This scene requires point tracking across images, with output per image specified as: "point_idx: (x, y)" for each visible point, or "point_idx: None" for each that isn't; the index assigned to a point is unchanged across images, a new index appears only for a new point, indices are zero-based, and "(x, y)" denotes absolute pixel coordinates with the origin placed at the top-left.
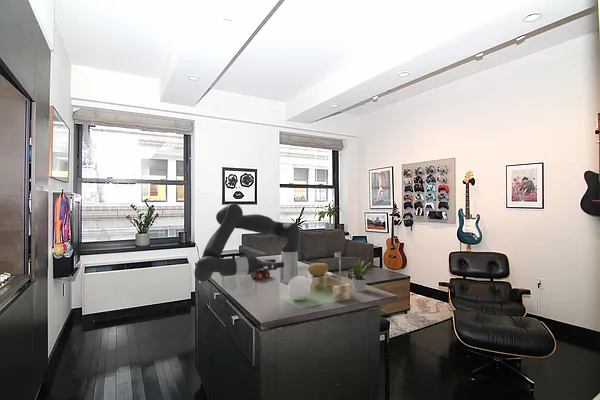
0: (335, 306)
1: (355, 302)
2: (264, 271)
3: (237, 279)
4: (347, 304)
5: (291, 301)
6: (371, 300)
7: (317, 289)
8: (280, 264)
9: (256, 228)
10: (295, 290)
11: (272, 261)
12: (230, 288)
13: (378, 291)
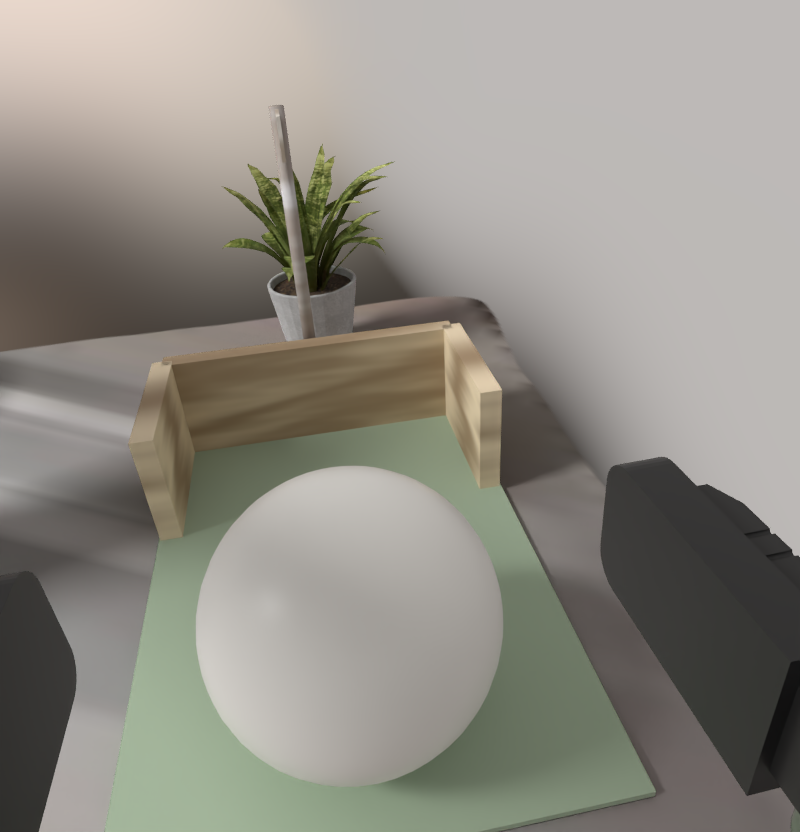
0: (597, 506)
1: (530, 408)
2: None
3: None
4: (562, 445)
5: (384, 809)
6: (511, 354)
7: (184, 500)
8: (789, 568)
9: None
10: (481, 683)
11: (11, 704)
12: None
13: (375, 308)
